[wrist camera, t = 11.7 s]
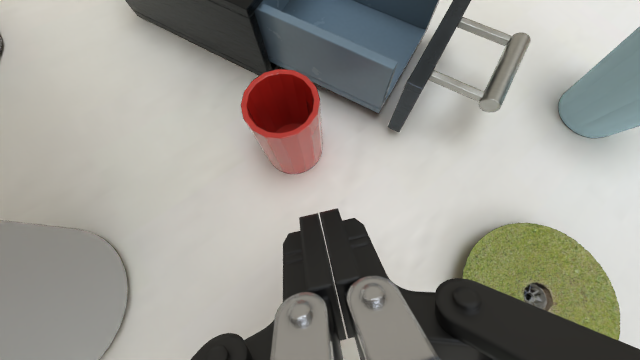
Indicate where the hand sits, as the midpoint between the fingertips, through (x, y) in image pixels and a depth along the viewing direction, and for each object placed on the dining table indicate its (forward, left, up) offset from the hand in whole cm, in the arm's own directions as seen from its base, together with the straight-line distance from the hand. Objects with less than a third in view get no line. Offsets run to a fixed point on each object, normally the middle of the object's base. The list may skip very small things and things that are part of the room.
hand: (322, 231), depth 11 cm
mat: (+5, -16, -14) cm, 21 cm away
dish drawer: (+19, +5, -13) cm, 23 cm away
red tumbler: (+7, +7, -14) cm, 17 cm away
